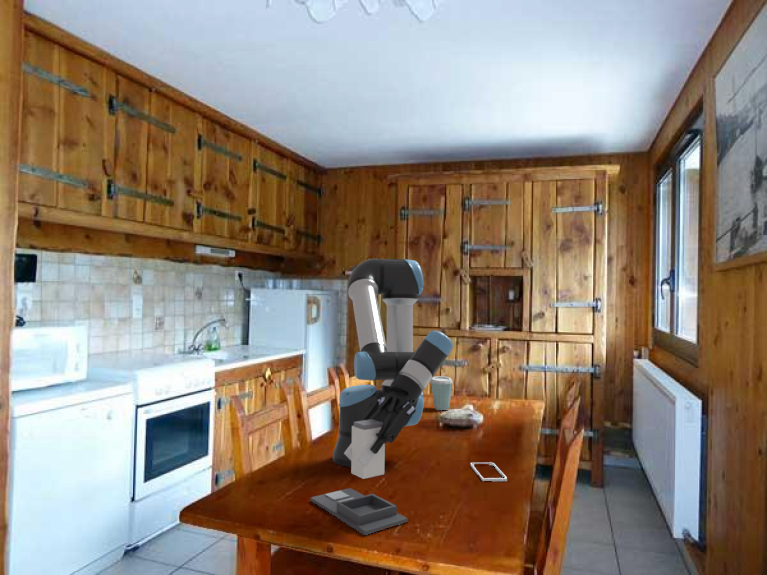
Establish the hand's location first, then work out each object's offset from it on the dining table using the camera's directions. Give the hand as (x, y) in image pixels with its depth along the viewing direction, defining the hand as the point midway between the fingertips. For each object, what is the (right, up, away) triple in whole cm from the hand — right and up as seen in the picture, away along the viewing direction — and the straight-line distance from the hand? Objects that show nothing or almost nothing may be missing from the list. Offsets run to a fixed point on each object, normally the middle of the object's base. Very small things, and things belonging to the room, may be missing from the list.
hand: (355, 459), depth 124 cm
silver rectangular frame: (+38, -16, +37) cm, 55 cm away
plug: (+3, -4, +2) cm, 5 cm away
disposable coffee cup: (+34, -18, +128) cm, 133 cm away
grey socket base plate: (0, -14, +6) cm, 16 cm away
